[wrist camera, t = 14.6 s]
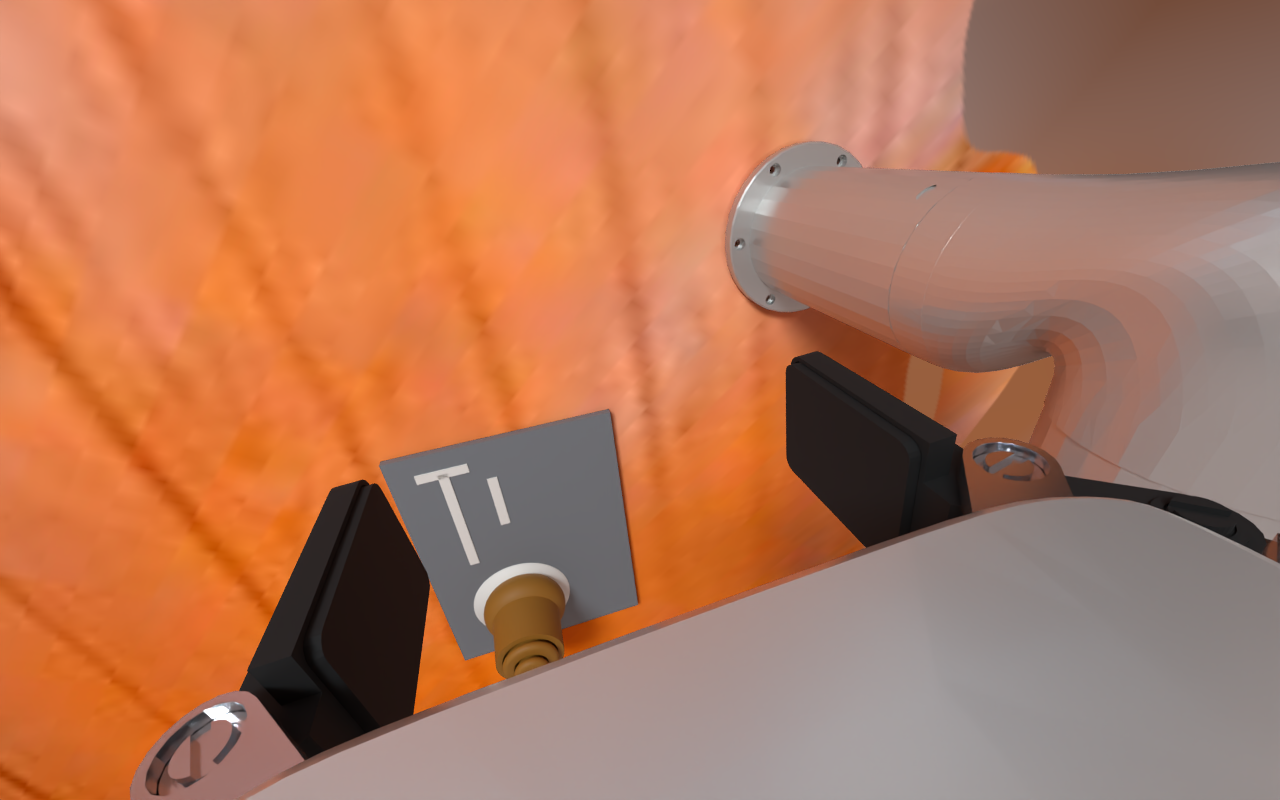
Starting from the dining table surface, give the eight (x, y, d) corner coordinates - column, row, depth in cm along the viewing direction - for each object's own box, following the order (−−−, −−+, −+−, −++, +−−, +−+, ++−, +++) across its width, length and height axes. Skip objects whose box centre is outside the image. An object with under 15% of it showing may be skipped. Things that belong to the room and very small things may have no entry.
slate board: (608, 409, 40) (610, 413, 40) (636, 600, 52) (638, 605, 51) (380, 461, 37) (378, 466, 36) (465, 655, 48) (465, 661, 48)
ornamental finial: (537, 555, 44) (577, 598, 48) (466, 598, 44) (512, 637, 48) (548, 629, 38) (593, 671, 41) (464, 679, 37) (518, 717, 41)
